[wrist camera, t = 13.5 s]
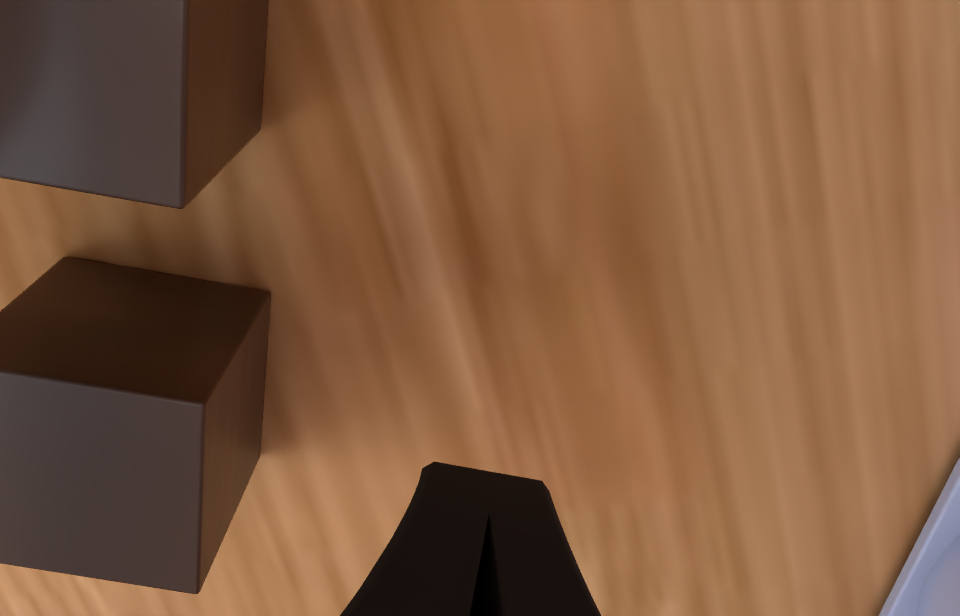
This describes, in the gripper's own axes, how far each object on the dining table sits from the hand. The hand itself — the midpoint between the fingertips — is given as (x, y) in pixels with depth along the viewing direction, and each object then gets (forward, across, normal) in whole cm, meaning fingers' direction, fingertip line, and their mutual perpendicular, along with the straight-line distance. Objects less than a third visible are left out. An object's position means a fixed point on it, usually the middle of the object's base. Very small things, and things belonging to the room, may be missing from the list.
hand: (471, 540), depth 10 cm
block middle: (+9, +7, -3) cm, 12 cm away
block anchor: (+9, +7, +5) cm, 12 cm away
